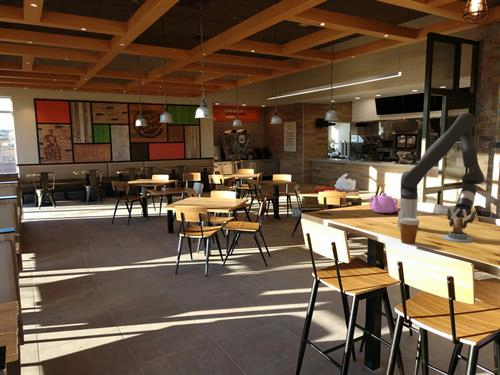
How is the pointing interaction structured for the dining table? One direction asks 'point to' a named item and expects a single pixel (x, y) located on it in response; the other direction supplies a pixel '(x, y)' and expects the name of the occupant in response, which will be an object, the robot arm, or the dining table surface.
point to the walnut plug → (457, 226)
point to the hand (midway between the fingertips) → (457, 226)
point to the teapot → (383, 204)
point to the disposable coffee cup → (408, 229)
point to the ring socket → (457, 237)
